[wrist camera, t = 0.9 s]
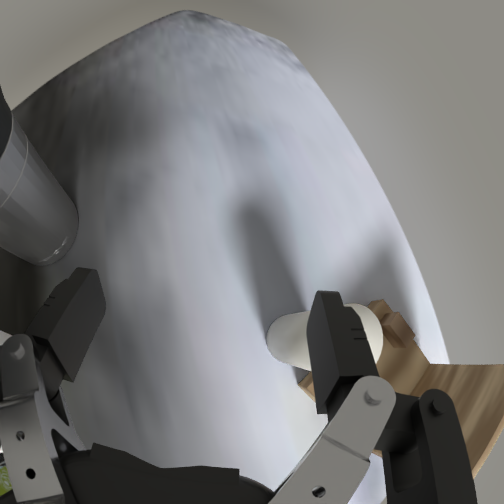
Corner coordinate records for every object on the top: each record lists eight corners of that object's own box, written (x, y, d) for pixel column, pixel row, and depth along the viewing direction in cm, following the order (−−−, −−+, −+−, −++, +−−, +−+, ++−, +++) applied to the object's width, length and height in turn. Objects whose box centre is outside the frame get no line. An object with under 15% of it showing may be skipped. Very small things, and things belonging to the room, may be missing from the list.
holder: (297, 384, 30) (403, 425, 14) (371, 301, 35) (487, 273, 18) (362, 447, 30) (463, 493, 13) (422, 369, 34) (527, 371, 17)
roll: (256, 338, 31) (303, 343, 18) (291, 303, 33) (354, 286, 20) (289, 373, 31) (351, 395, 18) (322, 338, 32) (395, 339, 20)
